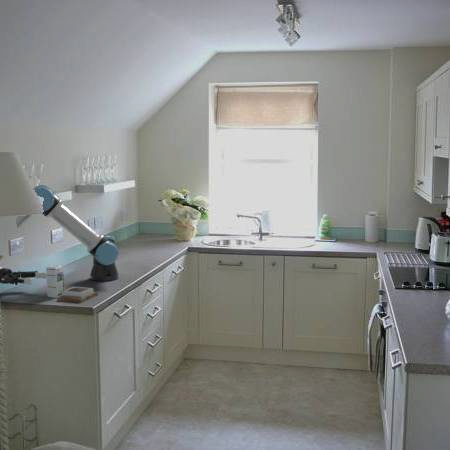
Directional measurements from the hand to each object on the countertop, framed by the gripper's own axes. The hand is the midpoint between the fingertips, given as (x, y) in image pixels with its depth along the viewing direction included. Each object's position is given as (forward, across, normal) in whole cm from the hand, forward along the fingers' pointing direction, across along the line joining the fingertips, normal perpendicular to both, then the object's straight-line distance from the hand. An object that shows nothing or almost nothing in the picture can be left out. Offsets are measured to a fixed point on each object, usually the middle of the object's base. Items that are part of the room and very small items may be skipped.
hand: (39, 278), depth 306 cm
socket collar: (+21, 0, -6) cm, 22 cm away
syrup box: (+9, 0, -8) cm, 12 cm away
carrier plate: (+21, 0, -8) cm, 22 cm away
